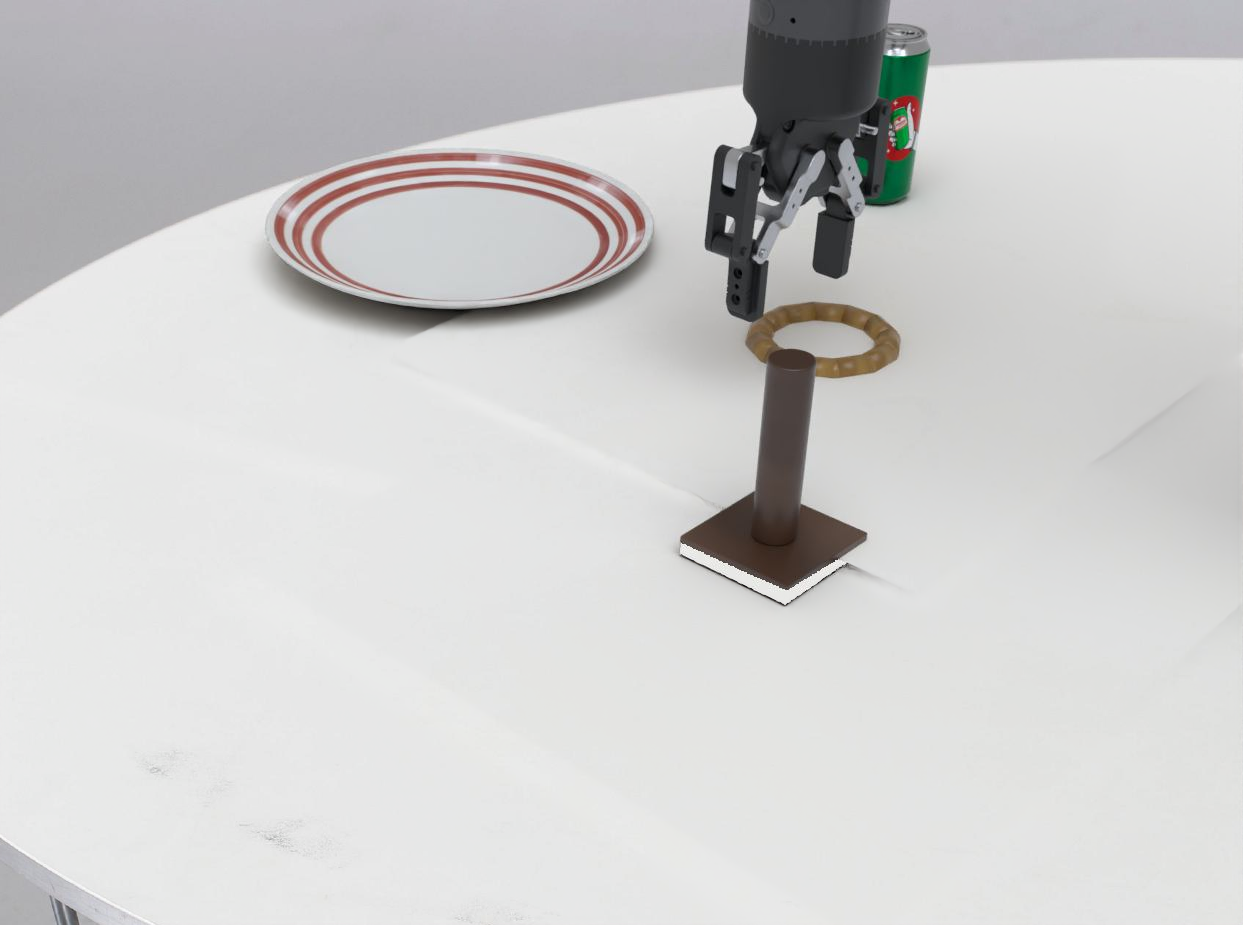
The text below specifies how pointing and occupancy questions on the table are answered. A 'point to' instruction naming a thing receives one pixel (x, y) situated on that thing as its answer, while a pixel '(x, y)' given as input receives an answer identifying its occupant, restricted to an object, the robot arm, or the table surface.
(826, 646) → the table surface
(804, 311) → the ring
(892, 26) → the soda can
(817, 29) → the robot arm
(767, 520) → the stand
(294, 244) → the dinner plate
